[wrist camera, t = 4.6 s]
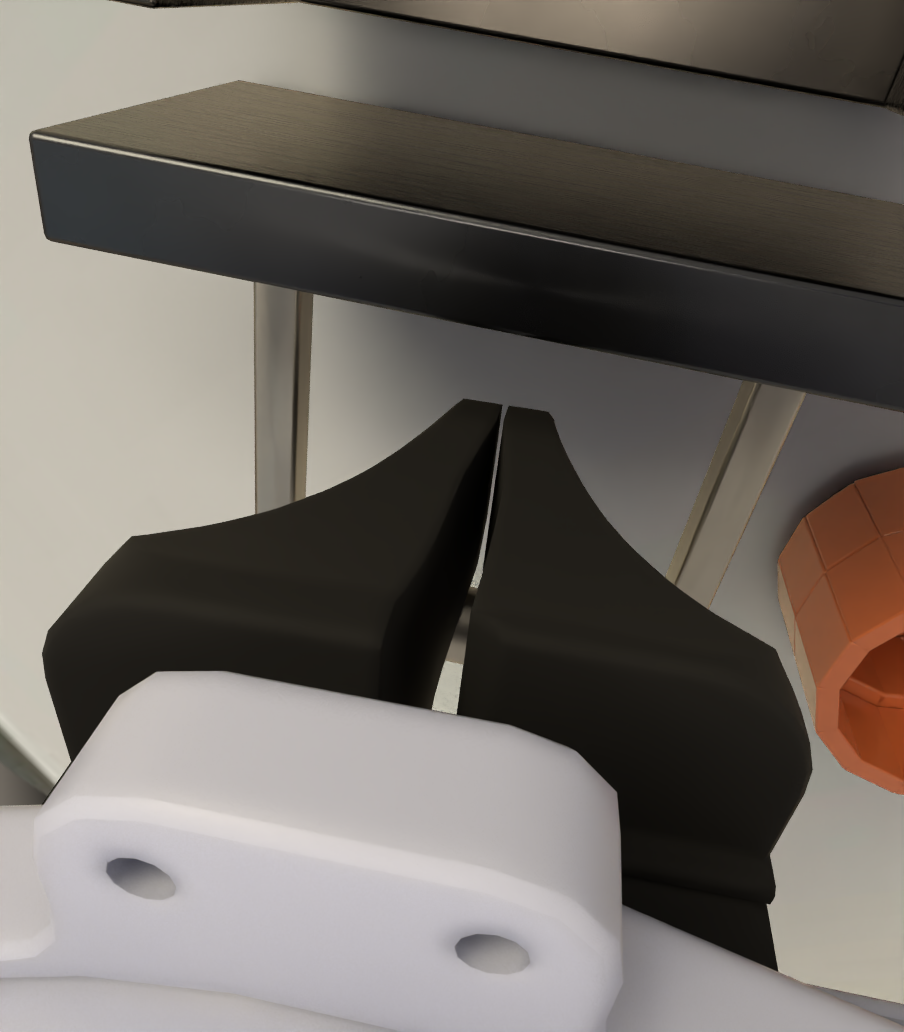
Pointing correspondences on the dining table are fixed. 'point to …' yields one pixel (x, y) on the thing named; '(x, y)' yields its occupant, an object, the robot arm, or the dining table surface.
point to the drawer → (526, 226)
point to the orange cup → (852, 623)
